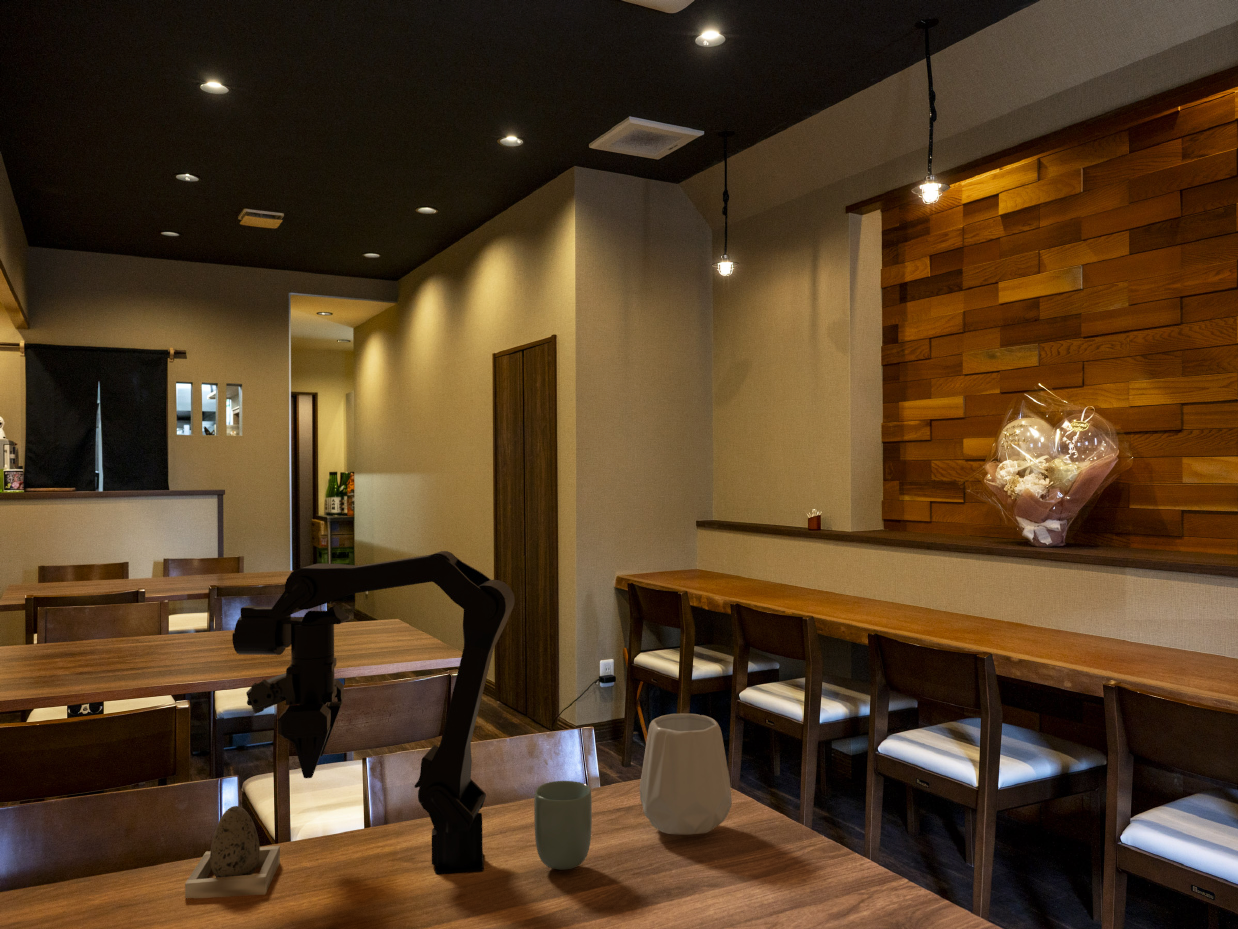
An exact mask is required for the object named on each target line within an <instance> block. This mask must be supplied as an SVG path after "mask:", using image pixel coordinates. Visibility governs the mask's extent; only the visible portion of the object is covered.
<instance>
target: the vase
mask: <svg viewBox="0 0 1238 929" xmlns="http://www.w3.org/2000/svg"><path fill="white" fill-rule="evenodd" d="M721 729H722V728H721V727H720V725H719V723H718V721H717V720H715V719H714V718H712V717H710V716H707V715H704V714H701V715H700V714H697V713H682V712H681V713H670V714H665V715H661V716H658V717H656V718H654V719H652V720H651V722H650V723H649V725H648V730H647V737H646V742H645V750H644V757H643V762H642V770H641V777H640V781H639V800H640V803H641V806H642V808H643V814H644V816H645V817H646V819H648V820H649V822H650V824H651V826H652V827H653V828H654V829H656V830H658V831H660V832H662V833H664V834H668V835H699V834H707V833H709V832H711V831H713V829H716V827H718V826H720V825H721V824H722V823H723V822H725V820H726V819H727V817H728V815H729V812H730V811H731V808H732V806H733V800H732V790H731V780H730V779H731V778H730V774H729V773H730V772H729V768H728V762H727V757H726V750H725V746H724V739H723V738H724V737H723V734H722V730H721Z"/></svg>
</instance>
